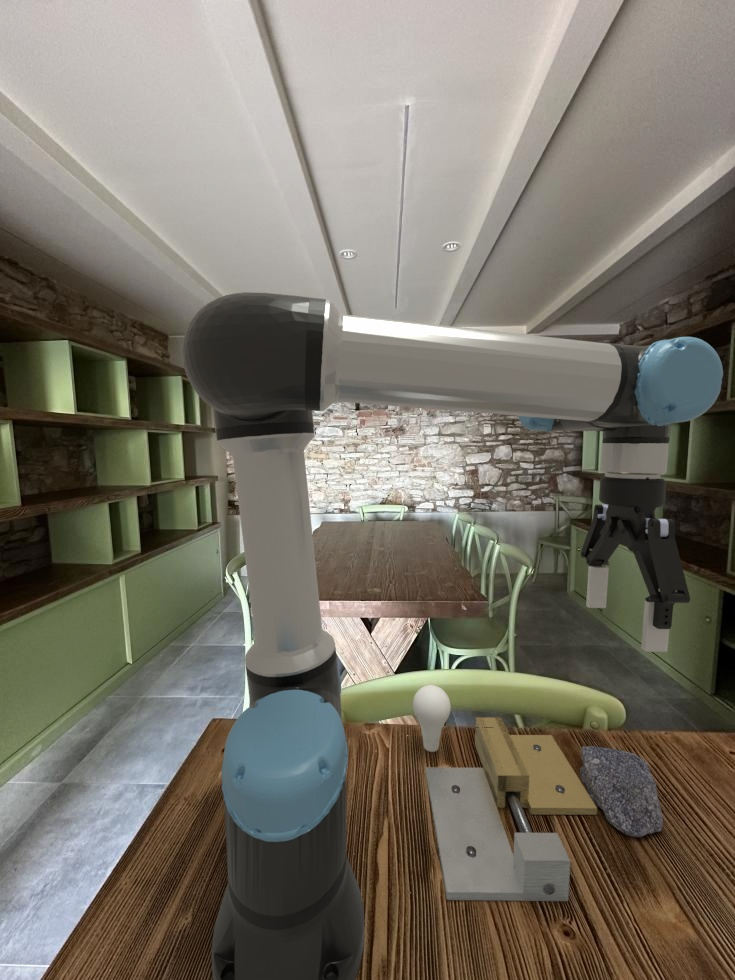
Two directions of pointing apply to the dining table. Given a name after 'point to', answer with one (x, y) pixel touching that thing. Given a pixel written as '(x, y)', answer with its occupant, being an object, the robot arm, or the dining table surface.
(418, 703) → the lightbulb
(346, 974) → the robot arm
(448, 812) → the zinc leaf
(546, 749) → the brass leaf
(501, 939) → the dining table surface
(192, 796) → the dining table surface
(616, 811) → the rock
